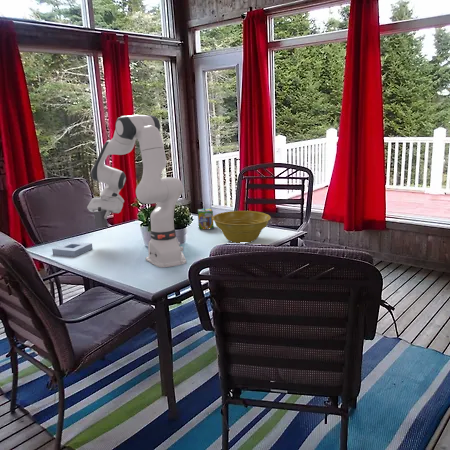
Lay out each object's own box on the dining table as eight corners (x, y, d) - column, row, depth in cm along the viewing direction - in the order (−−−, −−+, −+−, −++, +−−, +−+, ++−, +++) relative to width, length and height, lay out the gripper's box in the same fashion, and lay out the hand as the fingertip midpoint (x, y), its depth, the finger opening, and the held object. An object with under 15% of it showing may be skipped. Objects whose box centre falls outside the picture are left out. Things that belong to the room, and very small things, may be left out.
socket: (92, 248, 222) (91, 243, 222) (74, 256, 210) (74, 251, 209) (71, 246, 227) (70, 241, 227) (52, 254, 215) (52, 248, 214)
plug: (107, 226, 227) (105, 206, 224) (102, 228, 223) (100, 208, 220) (100, 225, 229) (98, 206, 226) (95, 227, 225) (93, 207, 222)
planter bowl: (282, 243, 224) (282, 218, 221) (229, 252, 210) (228, 226, 207) (252, 230, 252) (252, 208, 249) (203, 237, 238) (203, 214, 235)
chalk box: (213, 229, 256) (212, 205, 253) (198, 230, 255) (197, 206, 252) (212, 225, 265) (211, 202, 262) (198, 226, 264) (197, 203, 261)
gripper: (90, 193, 232) (80, 214, 225) (121, 194, 225) (112, 216, 218) (96, 199, 237) (87, 220, 230) (126, 201, 230) (118, 222, 223)
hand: (99, 218), depth 224 cm, fingers closed on plug, 4 cm apart
